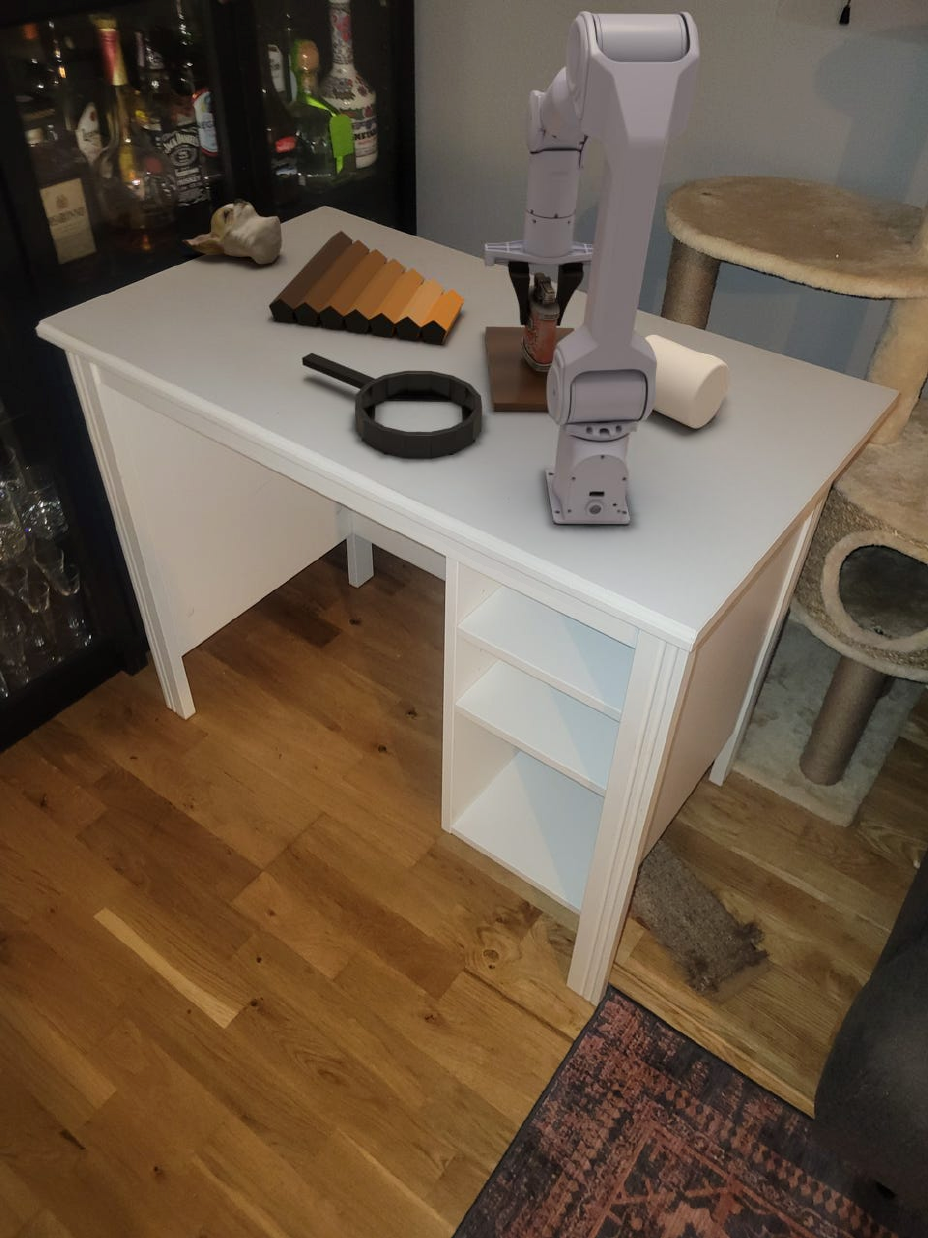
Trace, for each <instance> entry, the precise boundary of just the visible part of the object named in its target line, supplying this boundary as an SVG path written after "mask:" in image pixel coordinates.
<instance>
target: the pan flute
mask: <svg viewBox="0 0 928 1238" xmlns="http://www.w3.org/2000/svg"><path fill="white" fill-rule="evenodd" d="M353 241H354V242H353ZM406 270H407V268H406V267H405V266H404V265H403V264H402V263H400V262H399V261H398V260H397V259H395V258H392V259H390V260H389V261H388V257H386V256H385V255H384V254H383V253H382V252H380V250H378V249H377V248H375V249H373V250H372V251H371V249H370V248H369V247H368V246H367V245H365V244H364V243H363V242H362V241H361V240H360V239H356V241H355V240H354V239H352V238H351V237H349V236H348V235H347V234H346V233H345V232H344V231H342V230H340V231H338V232H337V233H336V234H334V235H333V236H330V238H328V240H327V241H326V242H325V243H324V244H323V246H322V247H321V248H319V250H318V251H317V252H316V253H315V254H314V255H313V256H312V257H311V259H310V260H309V261H308V262H307V263H306V264H305V265H304V266H303V268H302V269H300V271H299V272H298V273H297V274H296V275H295V276H294V277H293V278H292V279H291V280H290V282H289V283H287V285H286V286H285V287H284V288H283V289H282V291H280V293H278V294H277V296H276V297H275V298H274V299H273V300H272V301H271V302H270V303H269V305H268V307H269V310H270V313H271V315H272V317H273V321H275V322H280V323H285V324H291V323H292V322H293V320H294V319H295V318H296V320H297V322H298V325H300V326H308V327H316V326H317V325H318V323H320V321H321V324H322V326H323V328H324V329H326V330H327V329H328V330H335V331H340V330H342V328H343V327H344V326H345V324H346V327H347V330H348V332H349V333H354V334H355V333H356V334H362V335H365V334H366V333H367V331H368V330H369V329H370V328H371V330H372V332H373V335H374V336H377V337H382V338H383V337H384V338H389V339H390V338H391V337H392V335H393V334H394V333H395V331H396V332H397V336H398V337H399V340H405V341H411V342H417V340H418V339H419V337H420V336H421V333H422V336H423V340H424V343H425V344H432V345H437V346H438V345H439V346H442V345H443V343H444V341H445V339H446V338H447V336H448V334H449V332H450V331H451V329H452V327H453V325H454V324H455V322H456V320H457V318H458V316H459V315H460V313H461V311H462V308H463V305H464V303H465V298H464V297H462V296H461V295H460V294H459V293H458V292H457V291H456V290H455V289H454V288H451V289H449V290H448V291H446V292H444V291H445V287H443V286H442V285H441V284H440V283H438V282H437V280H435V279H434V278H430V279H428V280H426V281H425V279H426V278H425V277H424V276H423V275H422V274H420V273H419V272H418V271H417V270H416V269H415V268H413V267H411V268H410V269H408V271H406Z"/></svg>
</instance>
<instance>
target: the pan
mask: <svg viewBox="0 0 928 1238" xmlns="http://www.w3.org/2000/svg"><path fill="white" fill-rule="evenodd" d="M301 362H302V366H304V367H307V368H309V369H311V370H314V371H316V372H318V373H321V374H322V375H325V376H328V377H330V378H332V379H335V380H338V381H340V382H342V383H345V384H347V385H349V386H351V387H354V388H356V389H359V391H357V393H356V394H355V400H354V401H355V402H354V416H355V417H354V420H355V421H354V422H355V431H356V432H357V434H358V435H359V436H360V438H361V442H364V443H365V444H366V445H369V446H370V447H372V448H374V449H375V450H377V451H378V452H381V453H383V455H391V456H395V457H400V458H404V459H434V458H438V457H444V456H447V455H448V456H452V455H454V454H456V453H458V452H459V451H461V450H463V449H465V448H466V447H469V446H471V445H472V444H473V443H476V439H477V437H478V436H479V434H480V433H481V432H482V420H483V404H482V396H481V394H480V393H479V391H477V389H476V388H474V386H473V385H472V384H471V383H468V382H467V381H465V380H463V379H461V378H459V377H457V376H455V375H452V374H448V373H442V372H440V371H439V372H438V371H435V370H401V371H397V372H391V373H386V374H383V375H381V376H379V377H376V378H375V377H373V376H370V375H368V374H366V373H363V372H360V371H358V370H356V369H353V368H350V367H348V366H347V365H346V366H345V365H343V364H340V363H338V362H336V361H334V360H332V359H328V358H327V357H324V356H321V355H319V354H316V353H314V352H311V353H308V354H306V355H305V356H302V357H301ZM384 402H451V403H453V404H455V405H458V406H459V407H461V420H462V421H460V422H459V423H457V424H455V425H453V426H451V427H446V428H442V429H437V430H433V431H406V430H402V429H397V428H392V427H388V426H385V425H383V424H382V423H379V422H377V421H376V420H375V419H376V406H378V405H380V404H382V403H384Z"/></svg>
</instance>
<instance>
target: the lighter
mask: <svg viewBox="0 0 928 1238" xmlns="http://www.w3.org/2000/svg"><path fill="white" fill-rule="evenodd" d="M559 311H560V309H559V304H558V302H557V300H556V291H555V289H554V287H553V286H552V279H551V277H550V276H546V275H545V273H544V272H534V273H533V285H529V292H528V301H527V325H523V327H524V337H522V352H523V354H524V357H525V358H526V360H527V361H528V363H529V364H530V365H531V366H532V367H533V368H534V369H535V370H538V371H549V369H550V367H551V365H552V361H553V356H554V355H553V354H554V344H555V334H556V328H557V326H556V325H557V318H558V317H559Z"/></svg>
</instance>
